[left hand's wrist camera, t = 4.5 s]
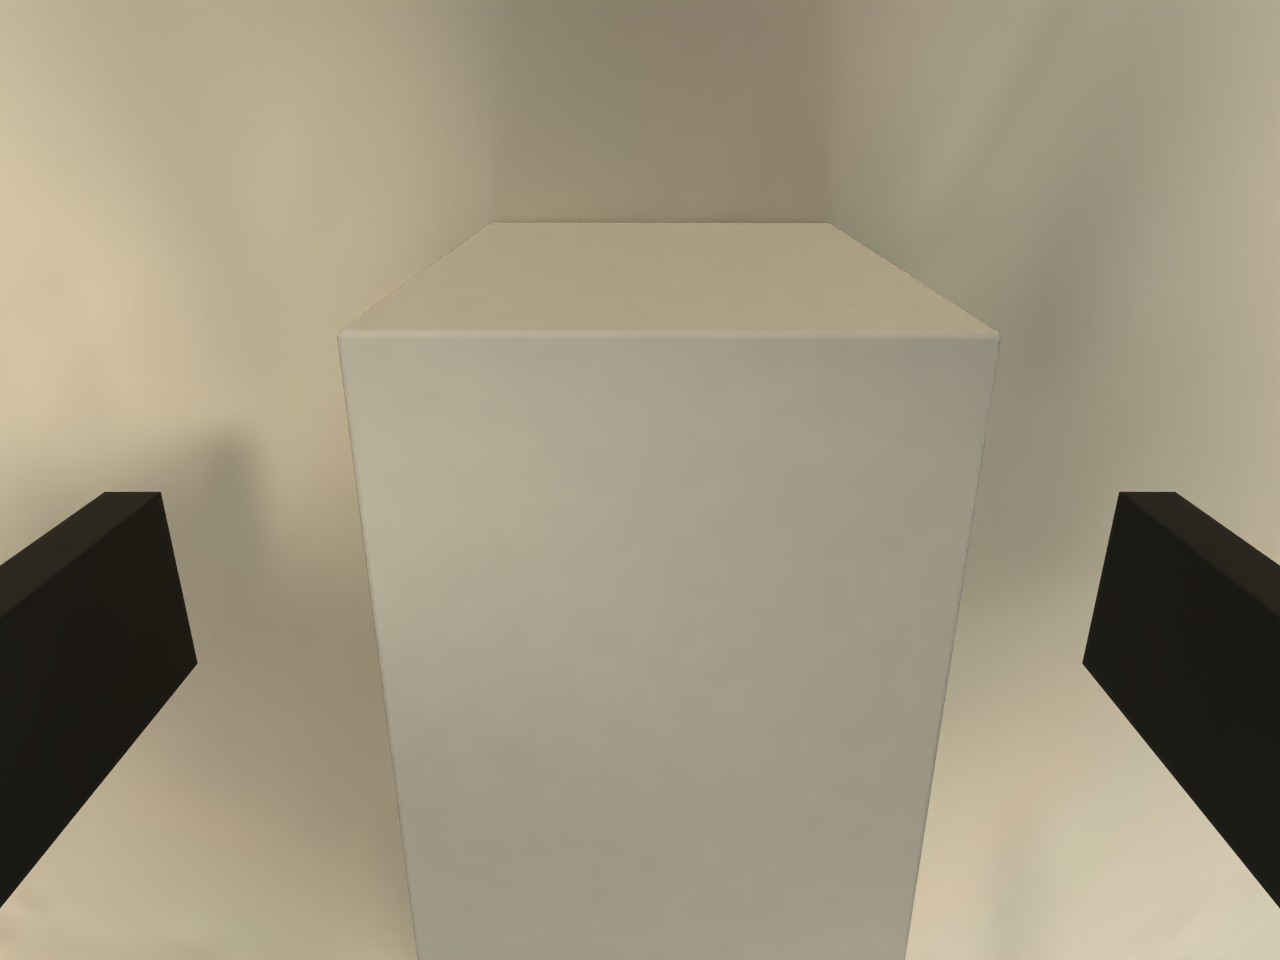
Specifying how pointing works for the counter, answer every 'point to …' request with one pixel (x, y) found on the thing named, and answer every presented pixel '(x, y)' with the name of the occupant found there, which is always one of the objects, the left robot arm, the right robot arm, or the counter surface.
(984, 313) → the counter surface
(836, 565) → the bar
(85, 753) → the left robot arm
